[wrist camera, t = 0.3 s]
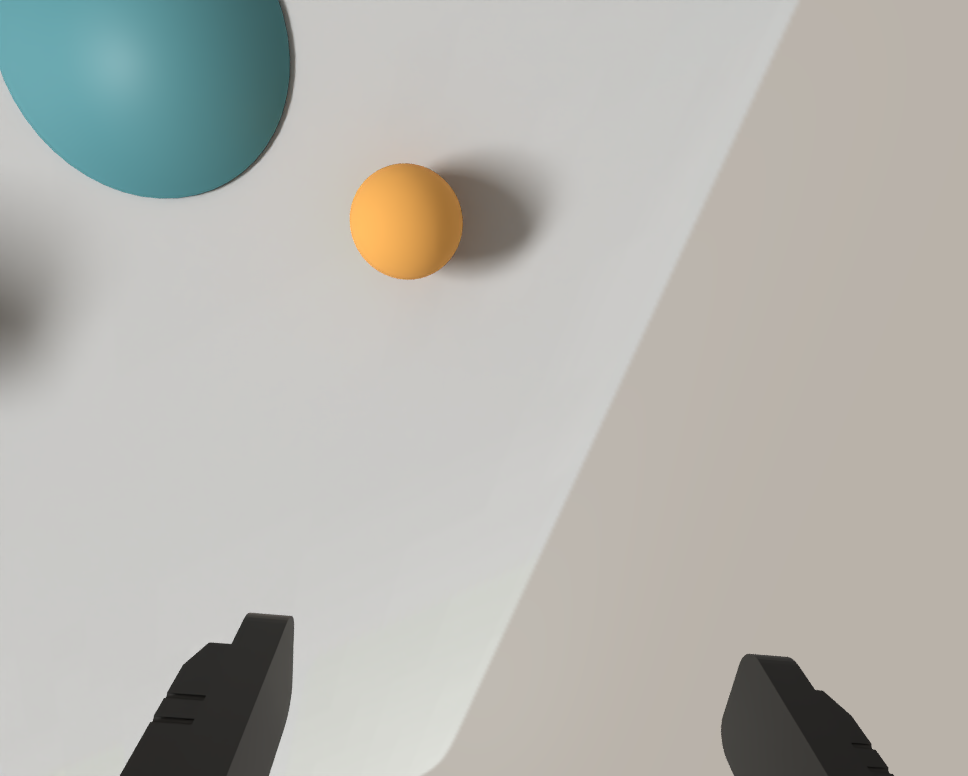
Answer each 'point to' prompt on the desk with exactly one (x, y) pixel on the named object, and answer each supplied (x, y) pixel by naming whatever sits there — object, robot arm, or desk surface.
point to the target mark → (149, 86)
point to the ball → (406, 221)
